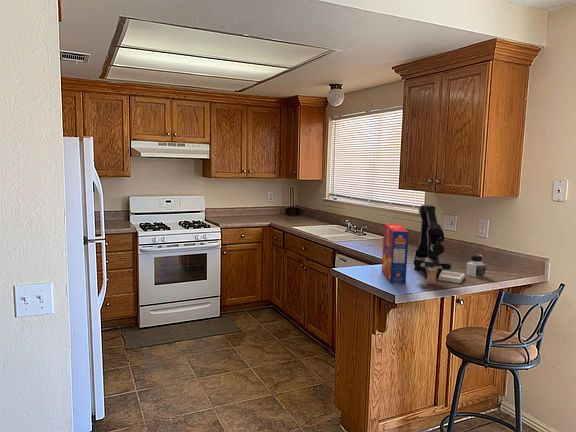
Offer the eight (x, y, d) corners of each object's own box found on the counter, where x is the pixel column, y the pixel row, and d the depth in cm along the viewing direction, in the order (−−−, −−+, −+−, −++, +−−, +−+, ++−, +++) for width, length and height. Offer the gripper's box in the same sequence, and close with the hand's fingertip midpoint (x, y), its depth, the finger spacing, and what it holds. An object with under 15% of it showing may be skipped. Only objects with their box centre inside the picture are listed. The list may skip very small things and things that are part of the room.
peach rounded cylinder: (425, 283, 234) (426, 270, 233) (427, 281, 238) (428, 268, 238) (435, 284, 232) (435, 271, 231) (437, 282, 236) (438, 270, 235)
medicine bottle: (475, 277, 249) (477, 256, 247) (466, 274, 255) (467, 254, 254) (485, 276, 252) (486, 255, 250) (475, 273, 258) (476, 253, 257)
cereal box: (381, 270, 260) (384, 223, 257) (395, 271, 260) (398, 224, 256) (390, 283, 232) (393, 231, 229) (405, 284, 232) (408, 231, 228)
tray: (433, 279, 242) (433, 275, 242) (439, 274, 254) (439, 270, 254) (459, 283, 235) (460, 279, 235) (464, 278, 247) (464, 273, 247)
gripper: (411, 251, 231) (409, 280, 233) (448, 255, 221) (446, 286, 223) (417, 247, 240) (415, 275, 242) (453, 252, 231) (451, 281, 233)
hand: (431, 279), depth 235 cm, fingers closed on peach rounded cylinder, 5 cm apart
